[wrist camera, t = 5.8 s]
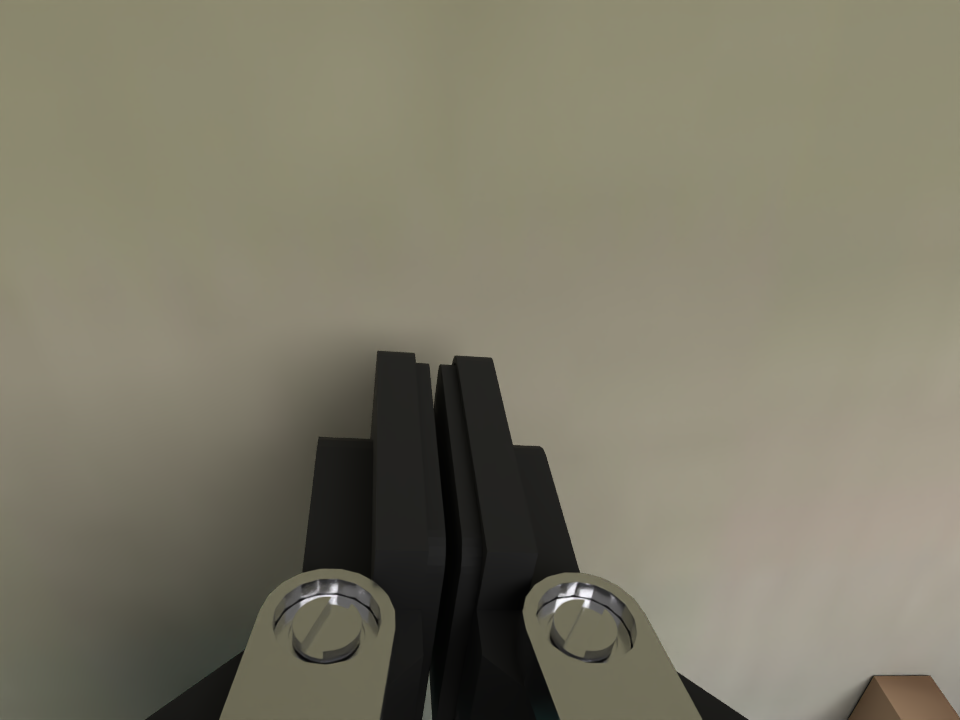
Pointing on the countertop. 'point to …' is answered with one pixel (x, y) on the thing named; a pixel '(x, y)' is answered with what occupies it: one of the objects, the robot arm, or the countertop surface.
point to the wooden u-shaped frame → (903, 700)
